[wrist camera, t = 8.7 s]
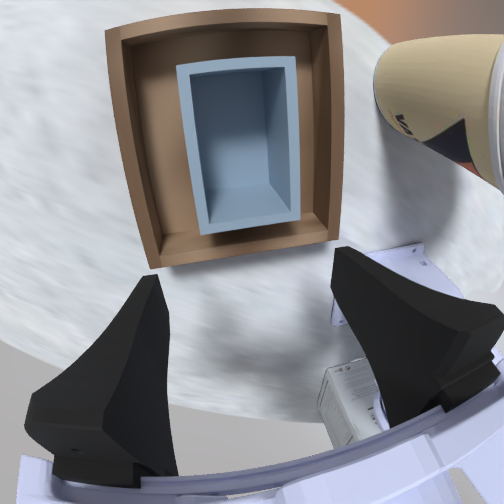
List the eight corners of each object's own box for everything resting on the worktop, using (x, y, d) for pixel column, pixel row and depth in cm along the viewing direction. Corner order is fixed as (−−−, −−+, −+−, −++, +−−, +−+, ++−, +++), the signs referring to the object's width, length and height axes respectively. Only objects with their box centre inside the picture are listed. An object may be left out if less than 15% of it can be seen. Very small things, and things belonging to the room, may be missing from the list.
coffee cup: (349, 126, 18) (486, 189, 8) (375, 11, 14) (516, -4, 4) (436, 158, 21) (546, 223, 11) (458, 63, 16) (576, 92, 6)
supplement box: (370, 387, 39) (414, 477, 25) (315, 404, 38) (352, 504, 24) (389, 349, 34) (449, 453, 20) (325, 367, 33) (378, 490, 19)
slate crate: (267, 63, 15) (295, 56, 10) (275, 186, 19) (300, 219, 15) (180, 71, 14) (176, 65, 10) (198, 197, 18) (200, 235, 14)
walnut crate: (315, 23, 14) (340, 14, 11) (318, 216, 22) (338, 239, 19) (120, 39, 13) (104, 30, 10) (155, 241, 20) (150, 269, 17)
